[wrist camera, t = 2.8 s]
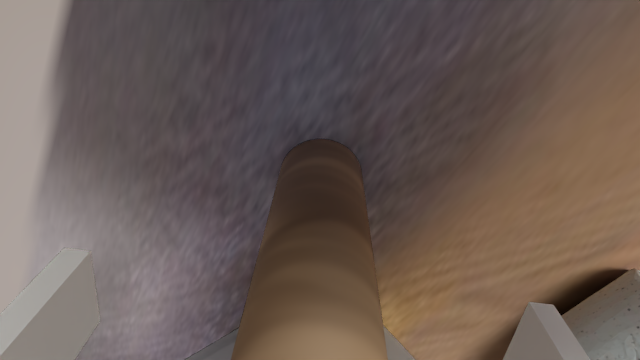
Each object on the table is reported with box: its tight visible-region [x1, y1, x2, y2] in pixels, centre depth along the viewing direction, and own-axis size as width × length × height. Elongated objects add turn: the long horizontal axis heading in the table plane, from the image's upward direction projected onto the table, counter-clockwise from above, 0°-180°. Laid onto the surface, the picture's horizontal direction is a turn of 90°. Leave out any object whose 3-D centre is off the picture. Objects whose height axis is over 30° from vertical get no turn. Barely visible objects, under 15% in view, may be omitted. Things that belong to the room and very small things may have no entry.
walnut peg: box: [231, 139, 388, 360], centre depth 14 cm, size 4×4×14 cm
